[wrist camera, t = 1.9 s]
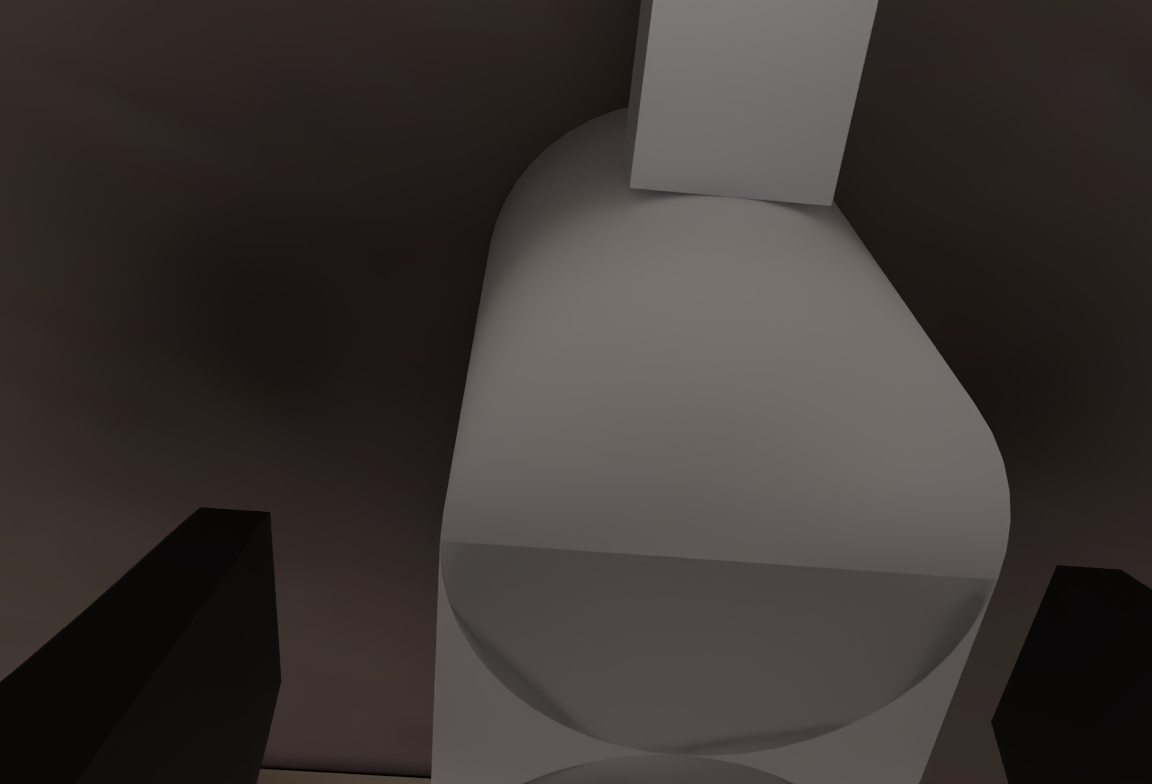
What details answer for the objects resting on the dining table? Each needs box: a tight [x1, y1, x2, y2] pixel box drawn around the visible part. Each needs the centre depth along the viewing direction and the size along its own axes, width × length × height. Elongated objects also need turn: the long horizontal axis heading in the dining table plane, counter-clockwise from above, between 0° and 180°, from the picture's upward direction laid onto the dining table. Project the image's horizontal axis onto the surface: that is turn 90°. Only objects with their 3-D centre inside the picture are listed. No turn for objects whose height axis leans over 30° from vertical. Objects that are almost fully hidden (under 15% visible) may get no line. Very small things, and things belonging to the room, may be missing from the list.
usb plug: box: [431, 0, 1010, 784], centre depth 10 cm, size 4×10×5 cm, turn 174°
